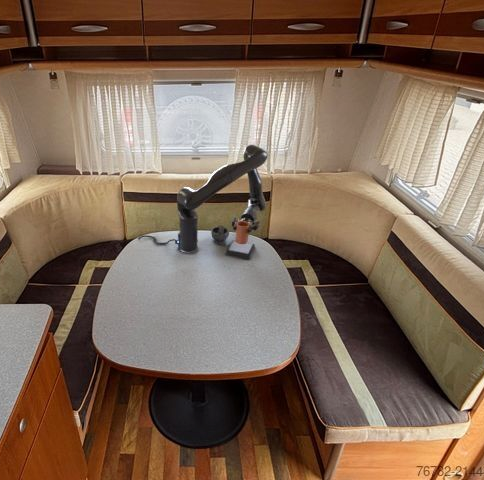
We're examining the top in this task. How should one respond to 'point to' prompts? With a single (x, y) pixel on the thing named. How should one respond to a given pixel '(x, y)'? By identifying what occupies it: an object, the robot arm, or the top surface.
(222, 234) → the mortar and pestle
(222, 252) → the top surface
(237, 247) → the scale
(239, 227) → the cup
